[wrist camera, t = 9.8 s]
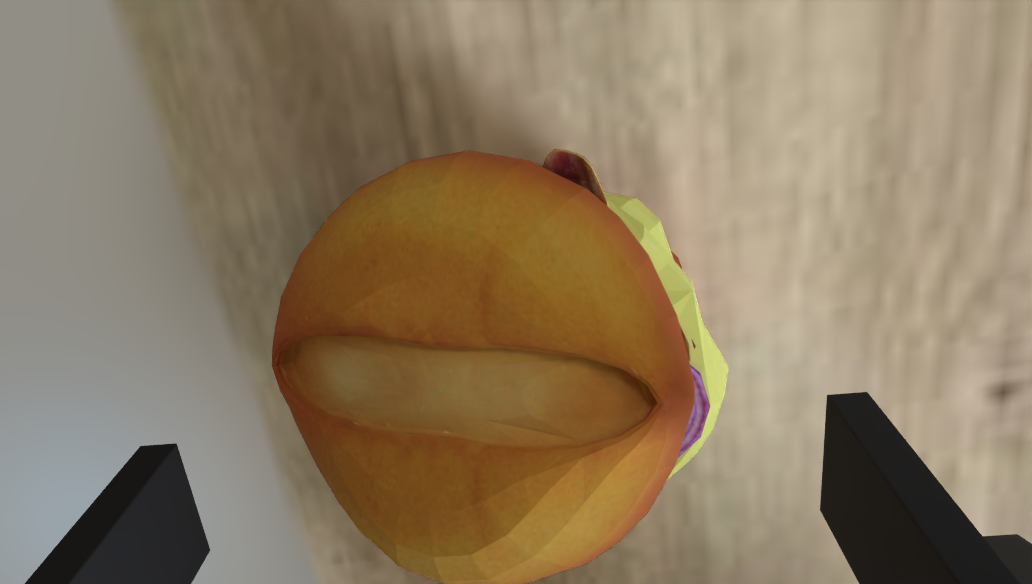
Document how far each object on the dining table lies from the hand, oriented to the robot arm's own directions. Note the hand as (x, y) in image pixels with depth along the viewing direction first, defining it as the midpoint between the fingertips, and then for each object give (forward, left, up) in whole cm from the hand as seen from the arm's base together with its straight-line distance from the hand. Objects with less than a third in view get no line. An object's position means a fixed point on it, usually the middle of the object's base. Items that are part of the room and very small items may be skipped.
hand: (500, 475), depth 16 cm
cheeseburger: (0, 0, -8) cm, 8 cm away
